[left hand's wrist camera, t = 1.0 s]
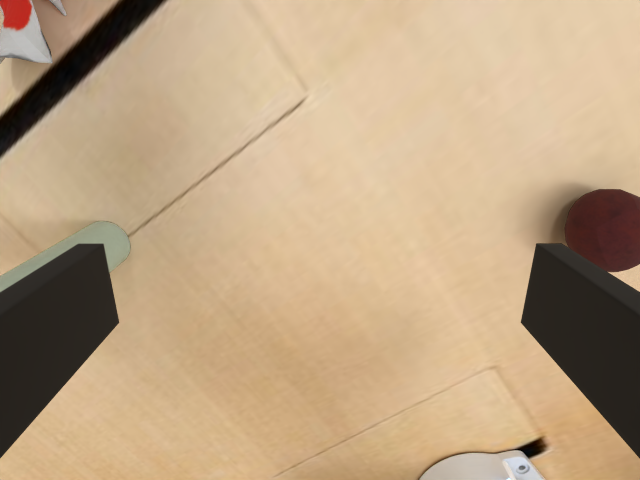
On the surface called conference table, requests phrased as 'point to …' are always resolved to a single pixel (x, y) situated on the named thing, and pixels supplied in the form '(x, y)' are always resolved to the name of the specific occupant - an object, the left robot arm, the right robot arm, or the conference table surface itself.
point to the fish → (23, 32)
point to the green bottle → (92, 234)
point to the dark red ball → (606, 229)
